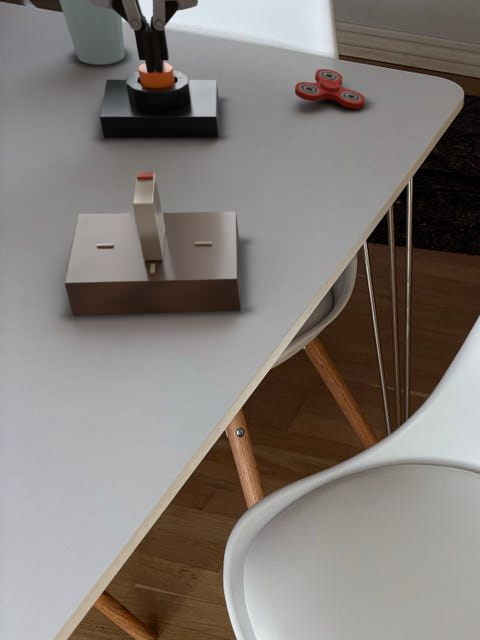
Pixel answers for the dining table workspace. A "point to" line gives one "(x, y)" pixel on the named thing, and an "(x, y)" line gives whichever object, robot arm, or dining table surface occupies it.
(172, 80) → the button
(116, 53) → the cup
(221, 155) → the dining table surface
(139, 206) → the red-tipped white slab
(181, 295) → the panel
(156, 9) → the robot arm
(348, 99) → the fidget spinner
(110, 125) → the button block
